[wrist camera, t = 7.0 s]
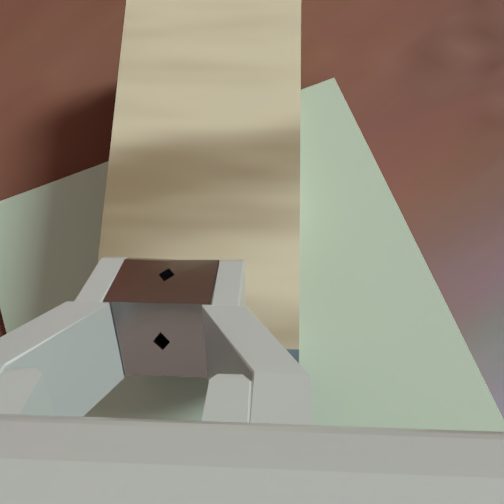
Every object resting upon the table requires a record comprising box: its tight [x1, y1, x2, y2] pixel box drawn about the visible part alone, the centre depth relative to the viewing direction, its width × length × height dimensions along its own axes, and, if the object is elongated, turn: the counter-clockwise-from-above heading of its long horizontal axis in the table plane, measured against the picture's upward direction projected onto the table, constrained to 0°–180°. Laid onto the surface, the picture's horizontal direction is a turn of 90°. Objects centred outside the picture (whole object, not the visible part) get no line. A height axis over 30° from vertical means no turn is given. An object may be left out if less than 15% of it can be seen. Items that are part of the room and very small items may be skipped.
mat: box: [0, 78, 504, 432], centre depth 18 cm, size 16×16×1 cm
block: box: [98, 0, 301, 363], centre depth 16 cm, size 6×6×13 cm
